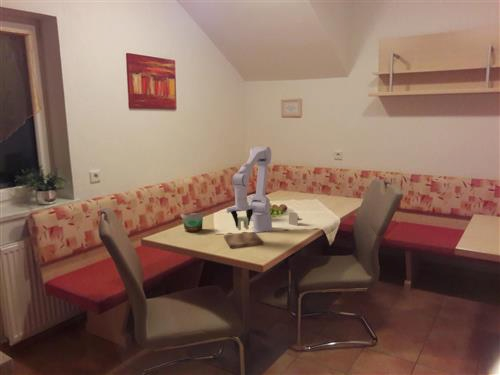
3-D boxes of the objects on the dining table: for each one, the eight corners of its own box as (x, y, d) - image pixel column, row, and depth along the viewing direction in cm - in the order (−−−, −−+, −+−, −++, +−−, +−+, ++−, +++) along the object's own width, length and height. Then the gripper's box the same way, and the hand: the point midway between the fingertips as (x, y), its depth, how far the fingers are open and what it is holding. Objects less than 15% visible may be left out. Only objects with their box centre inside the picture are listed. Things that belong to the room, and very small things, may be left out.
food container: (183, 234, 219) (182, 216, 217) (182, 231, 224) (180, 213, 222) (206, 231, 222) (205, 213, 220) (204, 228, 228) (203, 210, 226)
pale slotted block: (245, 226, 206) (245, 215, 205) (248, 229, 201) (248, 218, 200) (236, 227, 205) (235, 216, 204) (238, 230, 200) (238, 219, 199)
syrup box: (253, 217, 245) (252, 193, 242) (261, 219, 241) (260, 194, 238) (247, 220, 241) (246, 195, 238) (255, 221, 237) (254, 196, 234)
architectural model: (292, 223, 232) (291, 210, 231) (302, 225, 228) (302, 212, 227) (288, 225, 230) (288, 211, 228) (299, 226, 226) (299, 213, 224)
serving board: (254, 234, 214) (254, 231, 213) (263, 244, 198) (263, 241, 198) (224, 238, 210) (223, 235, 210) (230, 248, 195) (230, 245, 194)
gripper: (227, 201, 194) (229, 229, 197) (257, 198, 198) (258, 226, 200) (225, 198, 201) (226, 225, 204) (254, 195, 204) (255, 222, 207)
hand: (242, 225), depth 202 cm, fingers closed on pale slotted block, 5 cm apart
